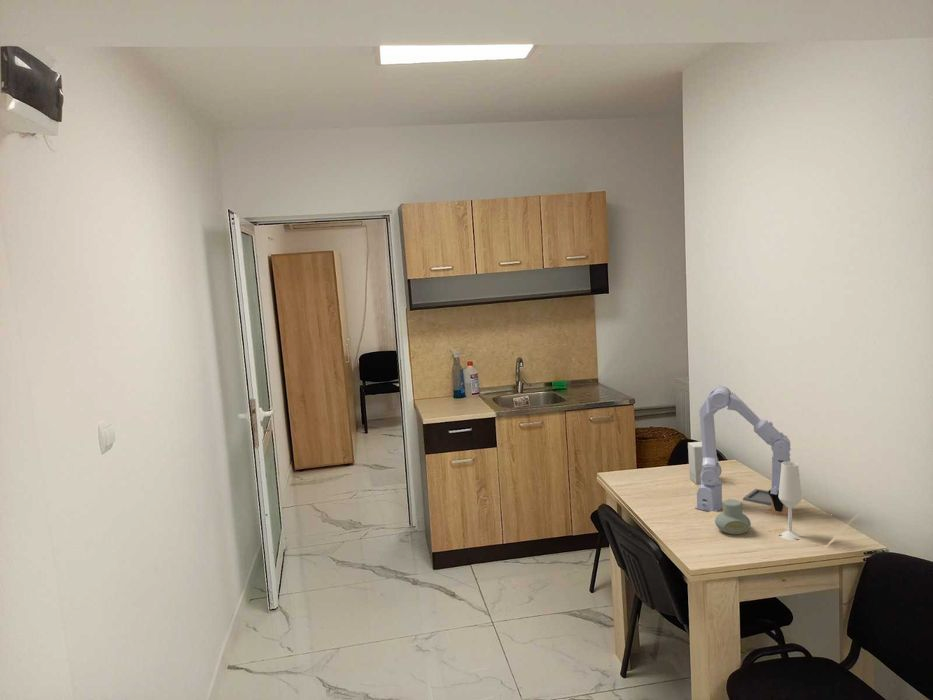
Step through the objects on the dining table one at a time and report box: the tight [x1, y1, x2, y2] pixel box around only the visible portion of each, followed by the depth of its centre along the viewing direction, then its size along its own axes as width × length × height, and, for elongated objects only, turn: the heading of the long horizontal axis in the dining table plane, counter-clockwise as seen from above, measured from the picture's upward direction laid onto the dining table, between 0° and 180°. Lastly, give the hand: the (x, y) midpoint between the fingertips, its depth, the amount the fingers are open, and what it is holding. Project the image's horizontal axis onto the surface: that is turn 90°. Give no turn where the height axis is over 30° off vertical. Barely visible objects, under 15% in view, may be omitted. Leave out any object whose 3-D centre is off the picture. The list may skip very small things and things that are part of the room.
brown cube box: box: [770, 499, 788, 516], centre depth 232 cm, size 5×6×5 cm
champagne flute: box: [778, 461, 803, 542], centre depth 211 cm, size 7×7×24 cm
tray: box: [742, 488, 771, 507], centre depth 245 cm, size 12×12×2 cm
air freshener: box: [714, 498, 751, 536], centre depth 219 cm, size 11×8×10 cm
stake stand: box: [765, 508, 798, 519], centre depth 232 cm, size 8×8×4 cm
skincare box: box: [687, 441, 703, 485], centre depth 269 cm, size 8×7×16 cm
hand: (781, 508), depth 232 cm, fingers closed on brown cube box, 5 cm apart
